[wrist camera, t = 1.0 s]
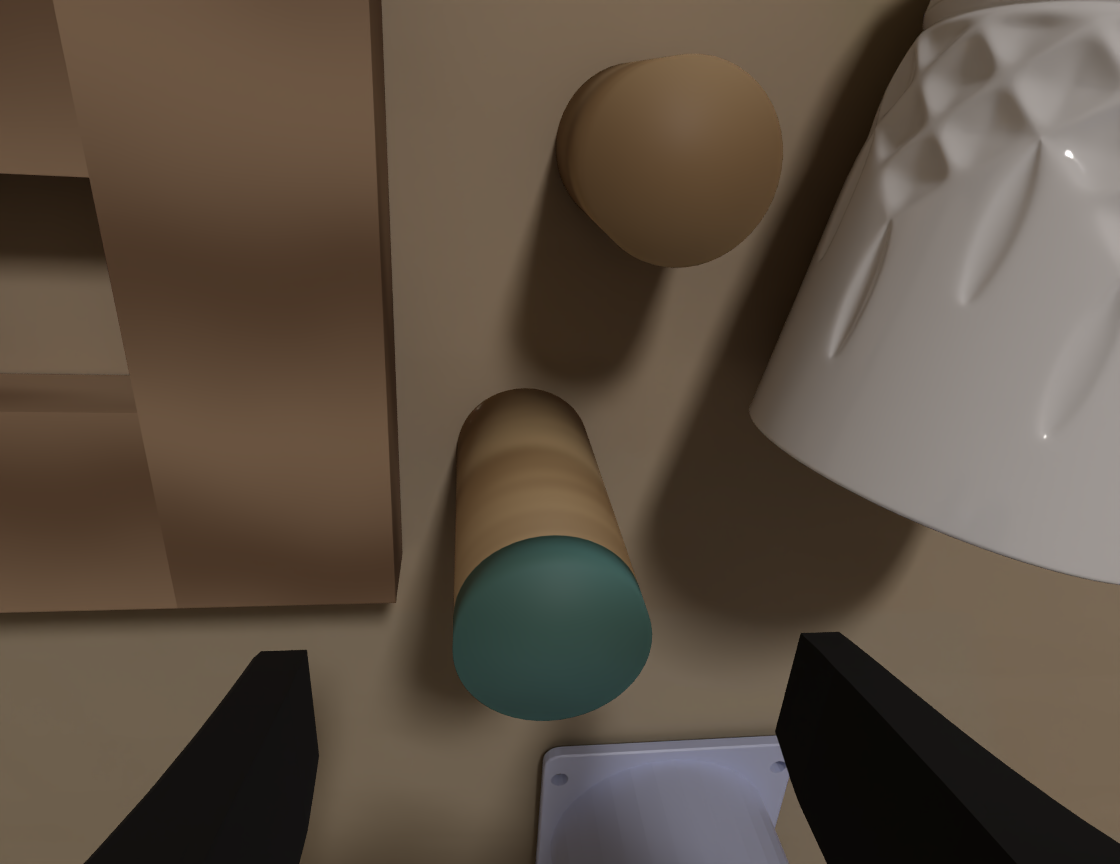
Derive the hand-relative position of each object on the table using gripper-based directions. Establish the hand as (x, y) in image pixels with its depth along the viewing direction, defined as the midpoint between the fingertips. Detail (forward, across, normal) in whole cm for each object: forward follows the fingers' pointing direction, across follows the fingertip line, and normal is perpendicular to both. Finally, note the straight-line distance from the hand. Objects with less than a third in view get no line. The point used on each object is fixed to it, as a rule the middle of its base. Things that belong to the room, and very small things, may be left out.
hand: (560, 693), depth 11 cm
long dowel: (+8, 0, 0) cm, 8 cm away
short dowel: (+8, -2, -7) cm, 11 cm away
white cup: (+5, -10, -11) cm, 16 cm away
